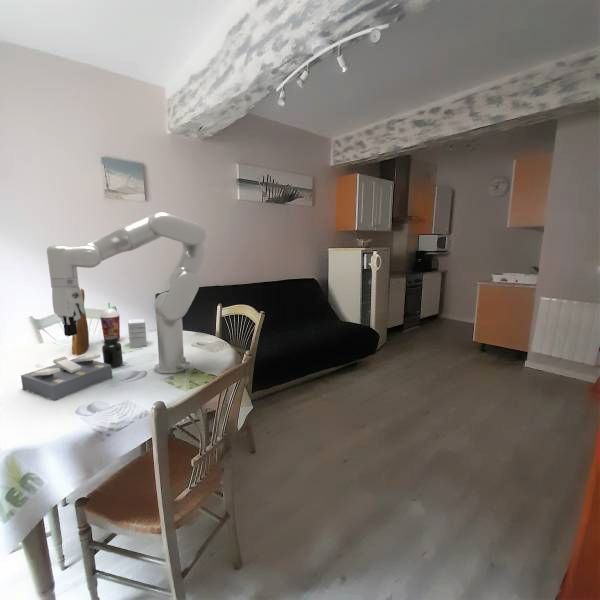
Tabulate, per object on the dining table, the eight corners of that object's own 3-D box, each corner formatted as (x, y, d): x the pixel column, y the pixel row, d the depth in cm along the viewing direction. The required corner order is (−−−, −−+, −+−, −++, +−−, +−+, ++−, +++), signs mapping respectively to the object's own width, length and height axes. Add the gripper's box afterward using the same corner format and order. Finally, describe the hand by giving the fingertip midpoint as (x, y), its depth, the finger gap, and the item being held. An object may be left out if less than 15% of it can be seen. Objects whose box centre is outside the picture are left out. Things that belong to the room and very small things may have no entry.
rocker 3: (100, 357, 121) (99, 354, 121) (90, 360, 118) (89, 357, 118) (84, 358, 125) (83, 355, 125) (74, 361, 122) (73, 358, 122)
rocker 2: (81, 369, 115) (81, 366, 115) (71, 373, 112) (71, 369, 112) (63, 359, 119) (64, 356, 118) (53, 362, 115) (53, 359, 115)
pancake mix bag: (94, 342, 160) (88, 287, 154) (88, 355, 143) (81, 293, 138) (78, 344, 157) (72, 287, 152) (69, 357, 140) (62, 294, 135)
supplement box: (129, 344, 159) (127, 319, 157) (146, 342, 163) (144, 318, 160) (129, 348, 153) (127, 323, 150) (147, 346, 156) (145, 321, 154)
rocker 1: (60, 370, 108) (59, 367, 108) (48, 374, 105) (47, 371, 105) (43, 371, 113) (42, 368, 113) (32, 375, 109) (31, 372, 109)
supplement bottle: (117, 361, 138) (114, 334, 135) (126, 364, 134) (124, 337, 132) (100, 366, 132) (97, 338, 130) (109, 370, 129) (107, 341, 126)
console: (112, 377, 122) (110, 363, 121) (54, 400, 104) (52, 384, 103) (81, 368, 129) (80, 355, 128) (22, 389, 111) (20, 373, 110)
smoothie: (119, 338, 168) (116, 300, 164) (123, 342, 162) (120, 303, 158) (101, 340, 163) (97, 302, 159) (104, 345, 156) (100, 305, 153)
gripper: (90, 283, 108) (95, 335, 112) (63, 279, 114) (68, 329, 118) (67, 285, 102) (73, 341, 105) (39, 282, 107) (46, 334, 111)
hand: (71, 334), depth 111 cm, fingers closed
